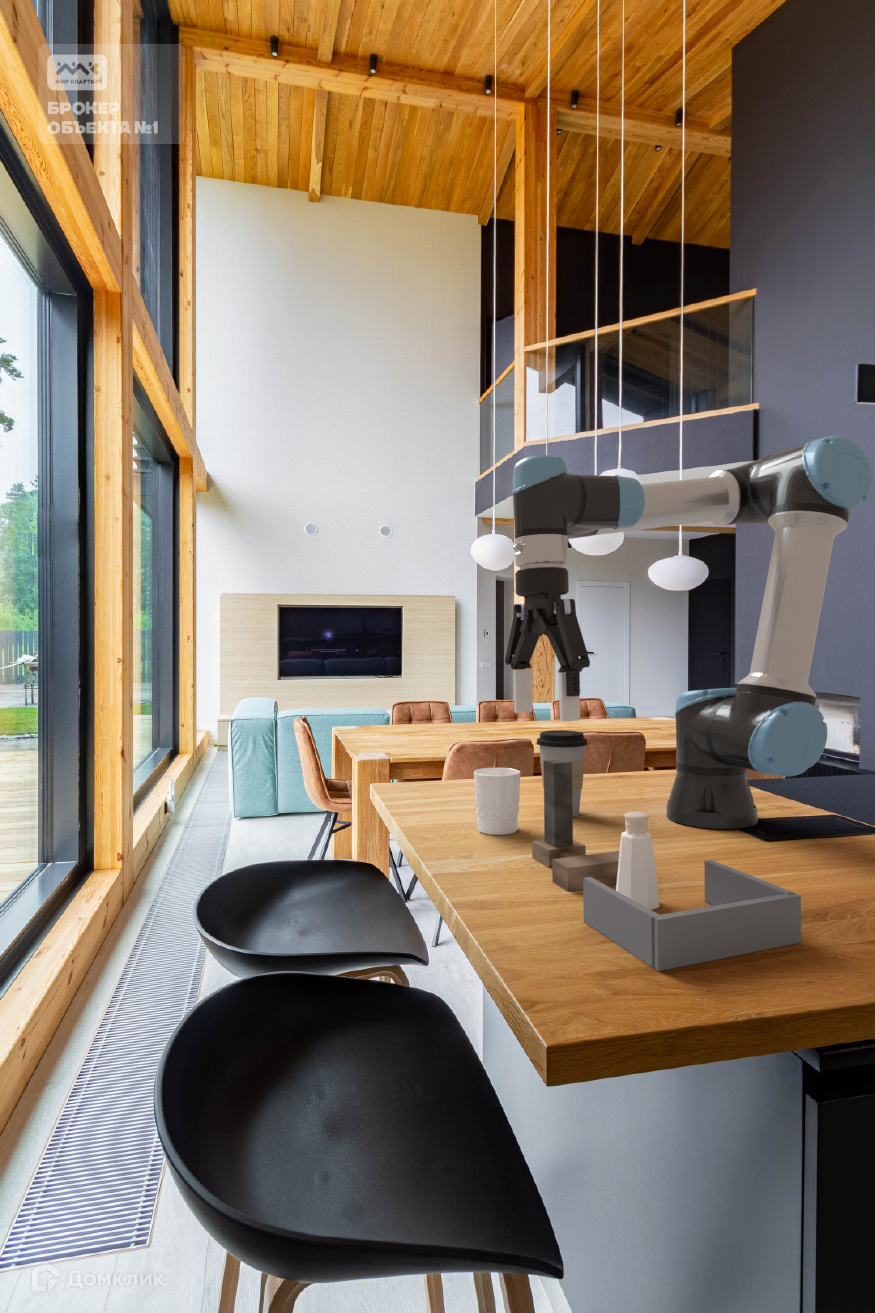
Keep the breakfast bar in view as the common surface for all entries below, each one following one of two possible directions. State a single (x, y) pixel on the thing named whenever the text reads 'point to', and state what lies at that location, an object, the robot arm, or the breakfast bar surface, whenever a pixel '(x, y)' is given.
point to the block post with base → (568, 836)
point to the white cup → (497, 800)
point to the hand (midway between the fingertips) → (545, 716)
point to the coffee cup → (565, 756)
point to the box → (698, 920)
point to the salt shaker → (637, 862)
